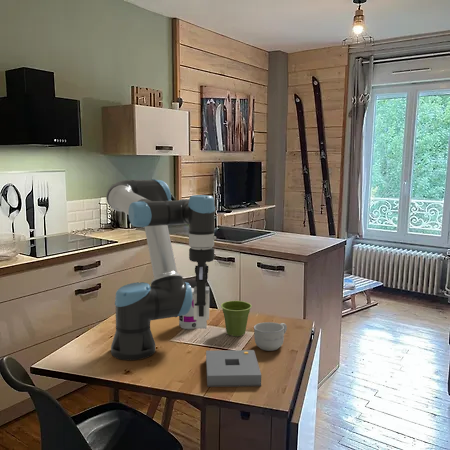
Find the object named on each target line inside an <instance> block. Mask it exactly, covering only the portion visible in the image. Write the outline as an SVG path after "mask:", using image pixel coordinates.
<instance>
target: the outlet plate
mask: <svg viewBox="0 0 450 450" xmlns="http://www.w3.org/2000/svg"><path fill="white" fill-rule="evenodd" d="M205 366H206V367H205V368H206V384H207V385H206V387H207V388H215V387H216V388H220V387H224V388H225V387H226V388H227V387H229V388H230V387H237V388H238V387H262V373H261V369H260V366H259V361H258V359H257V356H256V351H255V350H254V349H249V350H247V349H244V350H243V349H241V350H239V349H235V350H234V349H233V350H232V349H231V350H230V349H229V350H219V349H218V350H205Z"/></svg>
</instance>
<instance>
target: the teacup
mask: <svg viewBox="0 0 450 450" xmlns="http://www.w3.org/2000/svg"><path fill="white" fill-rule="evenodd" d="M287 330H288V327H287V324H286V323H284V322H281V323H278V322H272V321H271V322H270V321H268V322H265V321H264V322H259V323H256V324H255V325H254V326H253V331H254V332H253V336H254V337H253V338H254V344H255V345H256V346H257V347H258V348H260V349H261V350H262V351H265V352H266V351H268V352H270V351H272V352H273V351H276V350H278V349H279V348H280V347H282V345H283V344H284V342H285V341H284V338H285V334H286V333H287Z"/></svg>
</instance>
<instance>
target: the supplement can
mask: <svg viewBox="0 0 450 450" xmlns="http://www.w3.org/2000/svg"><path fill="white" fill-rule="evenodd" d="M191 289H192V304H191V308H190V310H189V312H188V313H187V314H186V315H182V316H178V325H179V327H180V328H181V329H183V330H194V329H196V320H194V287H191Z"/></svg>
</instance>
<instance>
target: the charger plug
mask: <svg viewBox="0 0 450 450" xmlns="http://www.w3.org/2000/svg"><path fill="white" fill-rule="evenodd" d="M193 288H194V320H196V328H195V329H200V330H202V329H203V330H204V329H207V323H208V322H207V321H208V320H210V286H206V296H205V302H206V327H197V306H195V303H196V302H197V285H196V286H194V287H193Z"/></svg>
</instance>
